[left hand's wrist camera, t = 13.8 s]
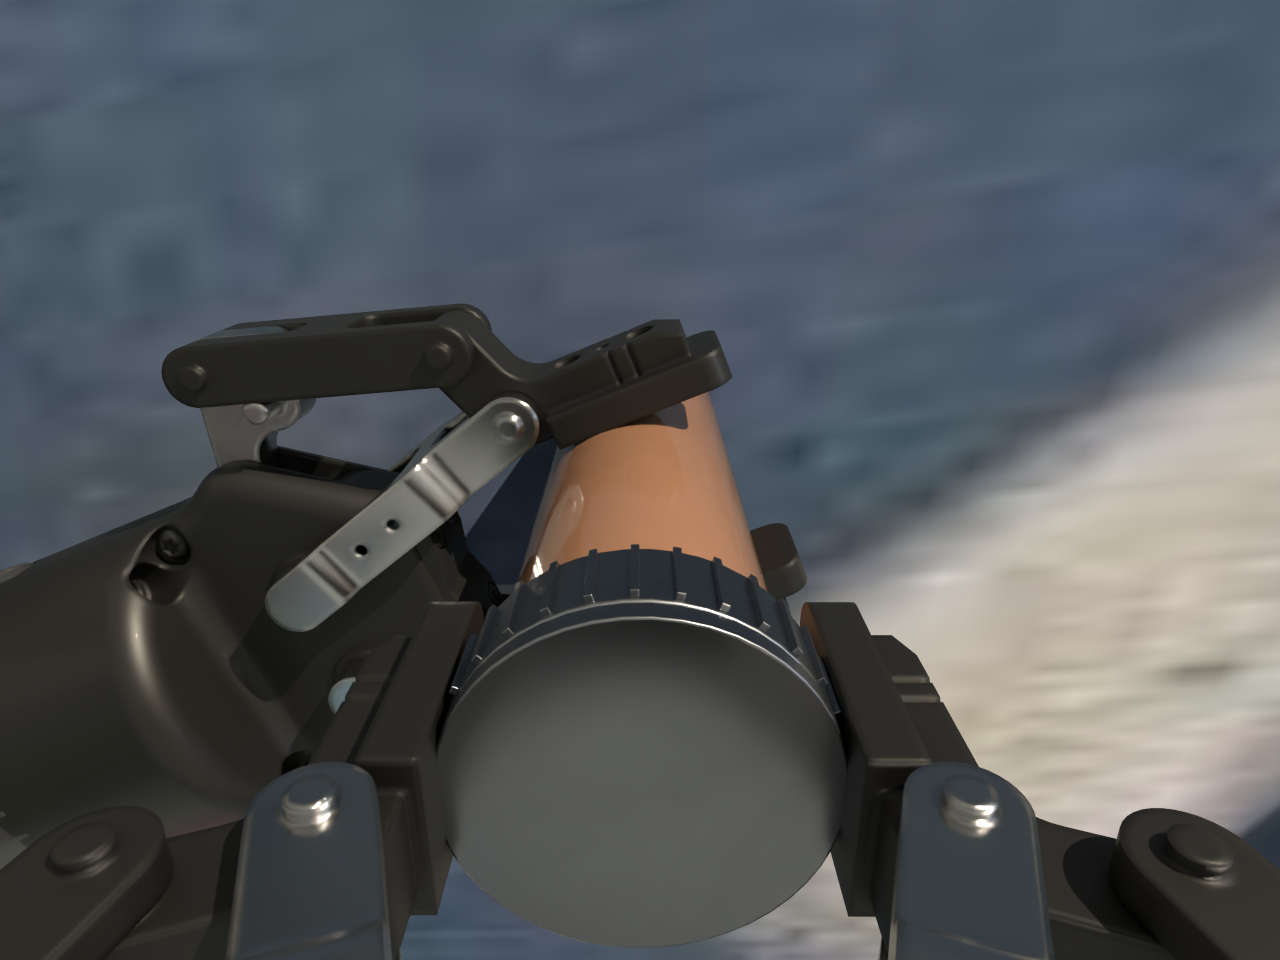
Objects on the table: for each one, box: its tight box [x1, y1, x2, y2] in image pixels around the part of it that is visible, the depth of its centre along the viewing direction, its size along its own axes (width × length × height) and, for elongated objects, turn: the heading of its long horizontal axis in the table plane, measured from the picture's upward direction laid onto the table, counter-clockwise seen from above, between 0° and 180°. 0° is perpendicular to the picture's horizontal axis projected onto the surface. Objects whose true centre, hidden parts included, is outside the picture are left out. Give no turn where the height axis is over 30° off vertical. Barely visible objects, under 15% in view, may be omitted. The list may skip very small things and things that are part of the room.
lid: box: [436, 544, 848, 948], centre depth 10 cm, size 5×5×2 cm
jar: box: [516, 392, 768, 592], centre depth 17 cm, size 4×4×15 cm
